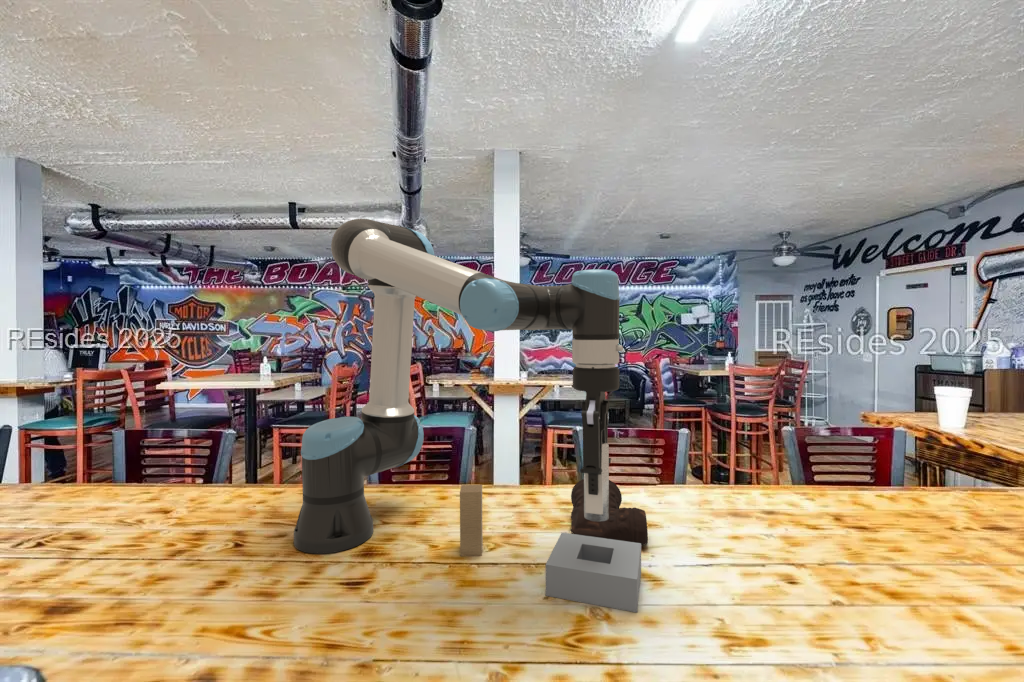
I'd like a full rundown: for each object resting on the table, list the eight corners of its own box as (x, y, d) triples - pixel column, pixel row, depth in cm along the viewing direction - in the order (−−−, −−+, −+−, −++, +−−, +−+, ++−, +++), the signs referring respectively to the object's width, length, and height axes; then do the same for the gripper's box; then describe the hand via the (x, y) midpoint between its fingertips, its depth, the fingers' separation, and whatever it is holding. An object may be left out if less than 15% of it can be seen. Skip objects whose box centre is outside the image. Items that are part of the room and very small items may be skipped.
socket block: (545, 595, 73) (545, 564, 73) (561, 559, 85) (561, 532, 84) (637, 612, 69) (637, 579, 69) (641, 571, 80) (641, 543, 80)
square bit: (460, 556, 86) (459, 492, 86) (461, 546, 90) (461, 484, 90) (481, 555, 86) (481, 491, 86) (482, 545, 90) (482, 484, 90)
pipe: (647, 515, 86) (639, 475, 101) (567, 514, 89) (569, 476, 103) (649, 561, 88) (640, 515, 102) (570, 559, 91) (572, 515, 105)
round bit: (582, 519, 75) (582, 446, 75) (586, 510, 79) (586, 440, 78) (607, 522, 74) (607, 448, 73) (610, 513, 78) (609, 442, 77)
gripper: (613, 370, 66) (614, 532, 67) (623, 362, 82) (624, 492, 83) (562, 369, 69) (563, 525, 69) (581, 361, 85) (582, 487, 86)
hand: (596, 507), depth 76 cm, fingers closed on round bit, 4 cm apart
